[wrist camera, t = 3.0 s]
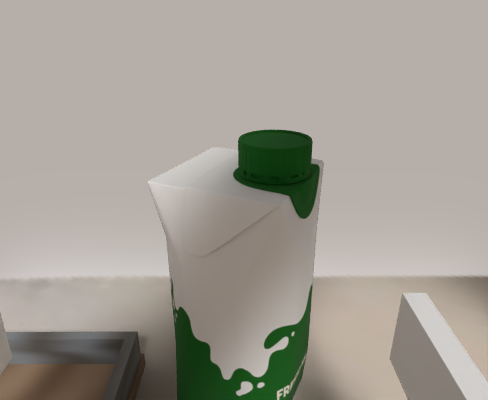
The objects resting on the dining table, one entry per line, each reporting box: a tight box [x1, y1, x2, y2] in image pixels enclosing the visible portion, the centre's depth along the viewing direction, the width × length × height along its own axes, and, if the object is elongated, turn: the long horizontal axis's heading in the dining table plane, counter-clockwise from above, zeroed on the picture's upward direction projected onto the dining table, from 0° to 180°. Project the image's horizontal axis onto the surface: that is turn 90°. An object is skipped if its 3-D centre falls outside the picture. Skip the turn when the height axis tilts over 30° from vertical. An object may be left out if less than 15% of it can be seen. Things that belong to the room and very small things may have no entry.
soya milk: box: [147, 130, 324, 400], centre depth 27 cm, size 9×9×20 cm
